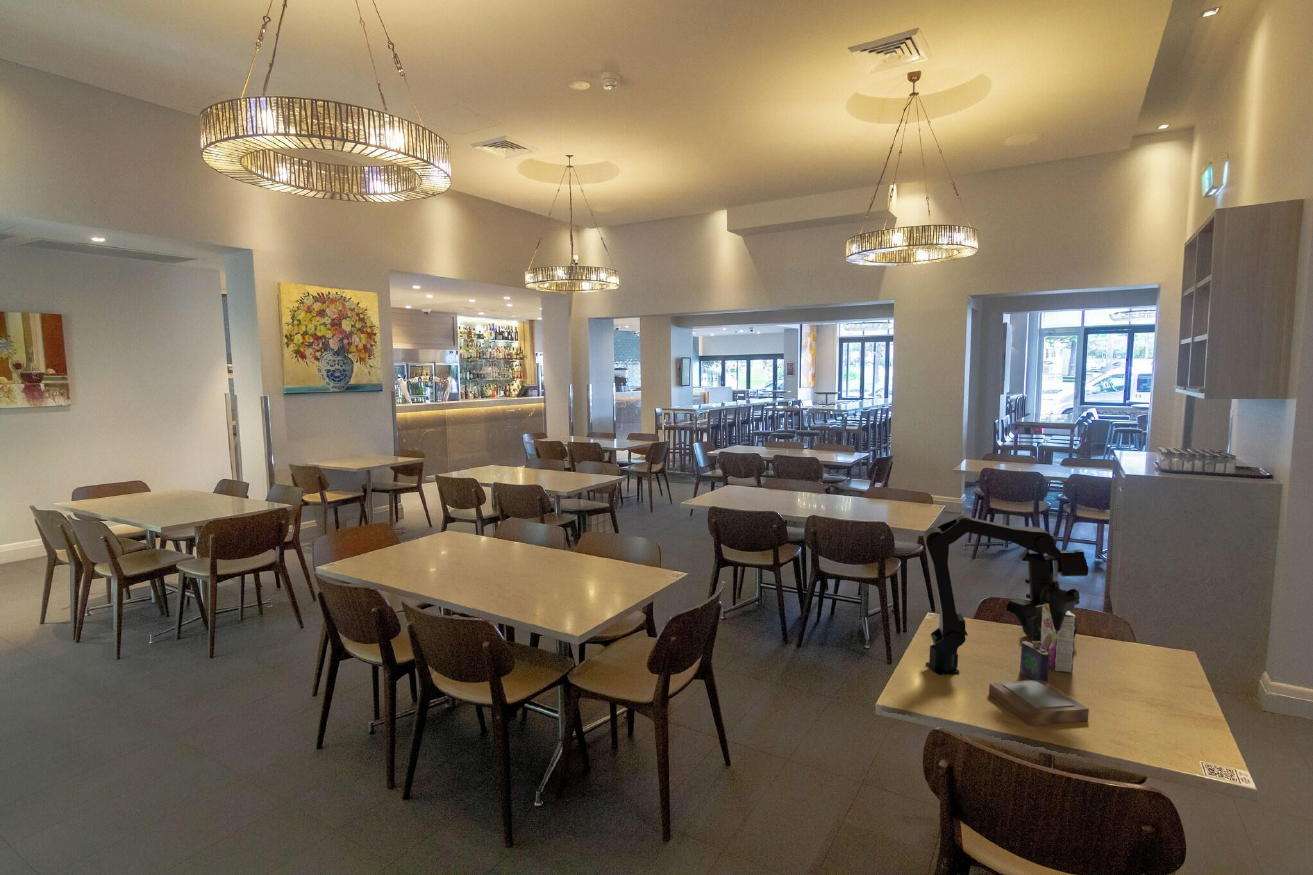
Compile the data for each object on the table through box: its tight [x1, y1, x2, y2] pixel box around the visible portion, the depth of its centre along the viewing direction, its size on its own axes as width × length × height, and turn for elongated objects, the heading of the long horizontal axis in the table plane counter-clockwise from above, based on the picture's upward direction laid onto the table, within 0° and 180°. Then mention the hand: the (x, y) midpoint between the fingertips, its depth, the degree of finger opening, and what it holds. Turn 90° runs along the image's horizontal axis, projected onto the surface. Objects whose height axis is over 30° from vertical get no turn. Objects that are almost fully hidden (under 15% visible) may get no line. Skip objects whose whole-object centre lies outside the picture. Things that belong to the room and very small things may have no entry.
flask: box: [1019, 640, 1050, 683], centre depth 175 cm, size 9×3×11 cm, turn 8°
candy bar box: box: [1039, 605, 1077, 674], centre depth 184 cm, size 11×5×16 cm, turn 168°
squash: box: [1021, 606, 1078, 643], centre depth 201 cm, size 14×15×15 cm
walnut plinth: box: [988, 679, 1090, 726], centre depth 161 cm, size 15×15×3 cm
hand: (1044, 633), depth 173 cm, fingers open, 9 cm apart
